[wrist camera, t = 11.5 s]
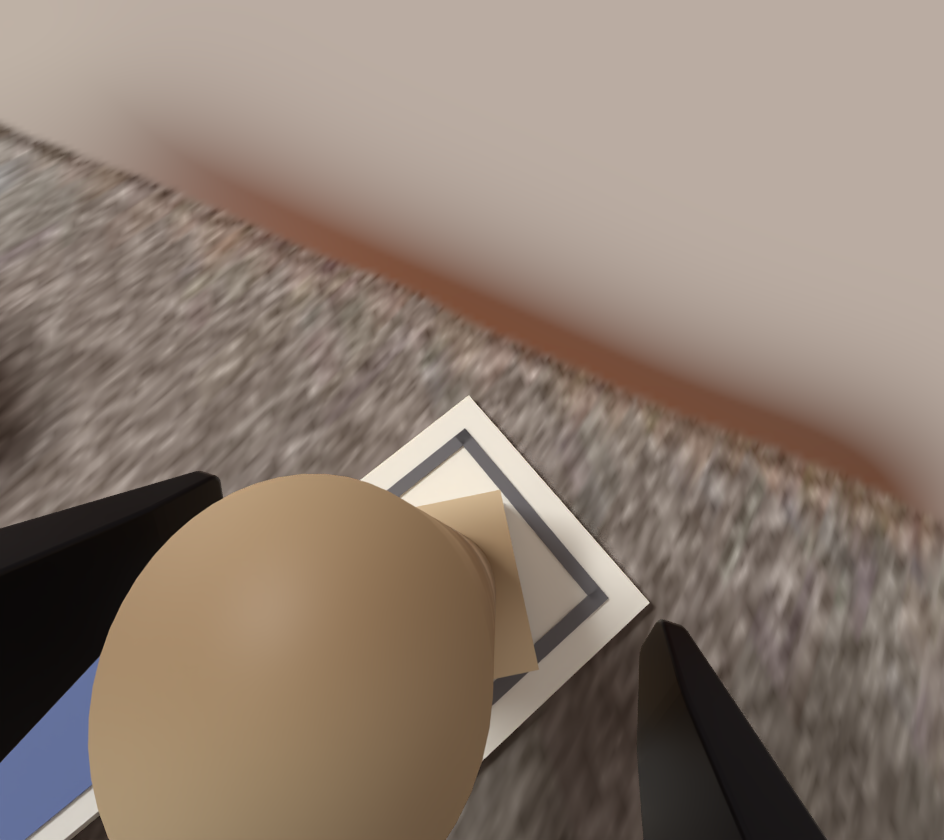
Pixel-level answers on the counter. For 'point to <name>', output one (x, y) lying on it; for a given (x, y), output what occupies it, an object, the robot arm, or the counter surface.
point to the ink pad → (51, 773)
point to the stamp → (308, 667)
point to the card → (521, 553)
